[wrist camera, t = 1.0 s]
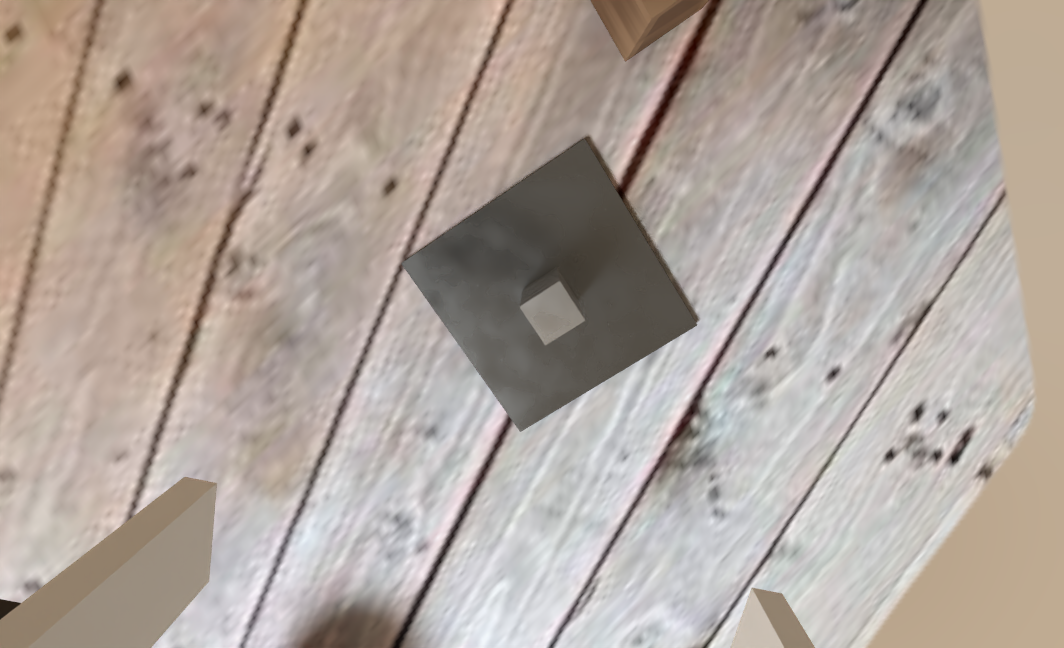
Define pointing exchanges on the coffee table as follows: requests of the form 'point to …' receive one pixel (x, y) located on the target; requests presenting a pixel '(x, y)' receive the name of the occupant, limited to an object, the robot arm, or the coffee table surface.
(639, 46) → the tan wooden block
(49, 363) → the coffee table surface
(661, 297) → the grey square base plate
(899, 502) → the coffee table surface
